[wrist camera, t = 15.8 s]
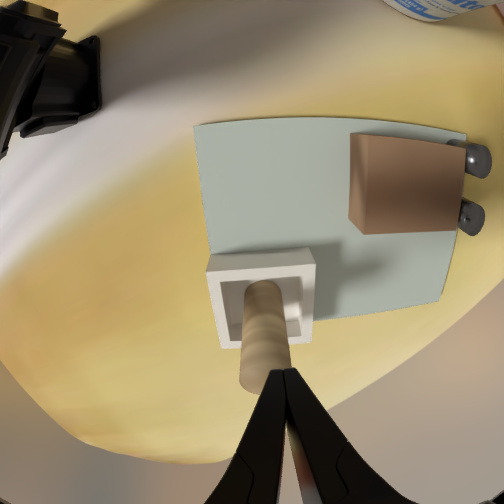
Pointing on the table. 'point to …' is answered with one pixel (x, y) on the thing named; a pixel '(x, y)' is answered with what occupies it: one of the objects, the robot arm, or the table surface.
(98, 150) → the table surface
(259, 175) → the mat
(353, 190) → the cardboard brown brick
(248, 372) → the dowel
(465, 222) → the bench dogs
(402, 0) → the supplement tub
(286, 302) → the tray
